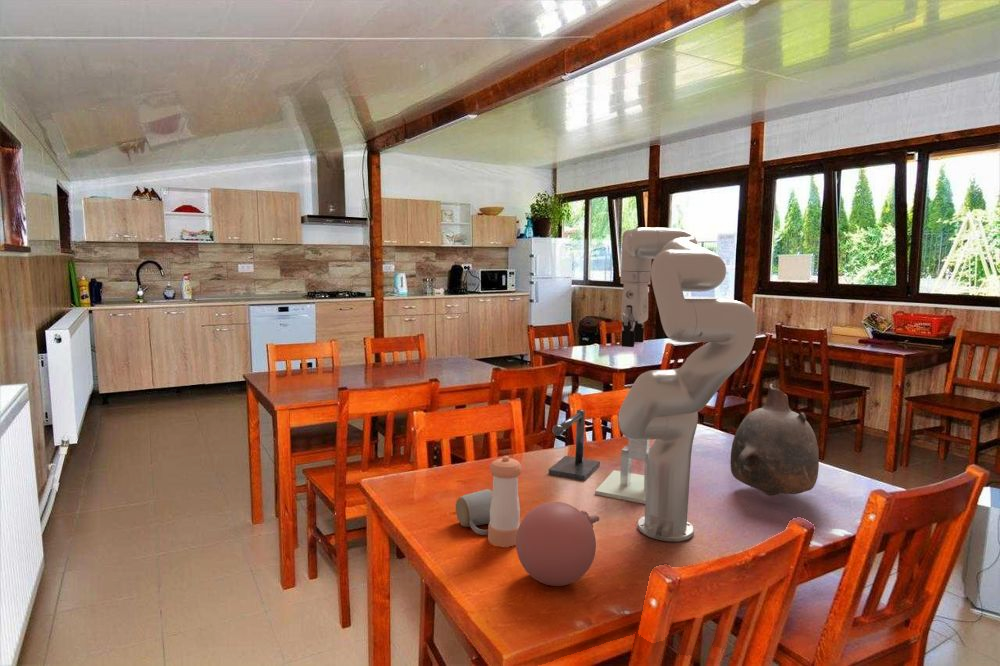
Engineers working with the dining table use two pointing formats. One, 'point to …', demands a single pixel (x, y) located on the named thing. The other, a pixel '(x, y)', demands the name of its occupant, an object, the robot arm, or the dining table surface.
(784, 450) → the jug
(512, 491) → the salt shaker
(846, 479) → the dining table surface
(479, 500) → the ceramic mug
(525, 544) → the balloon
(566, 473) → the stand
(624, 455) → the stepped metal block
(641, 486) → the mat
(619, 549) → the dining table surface
